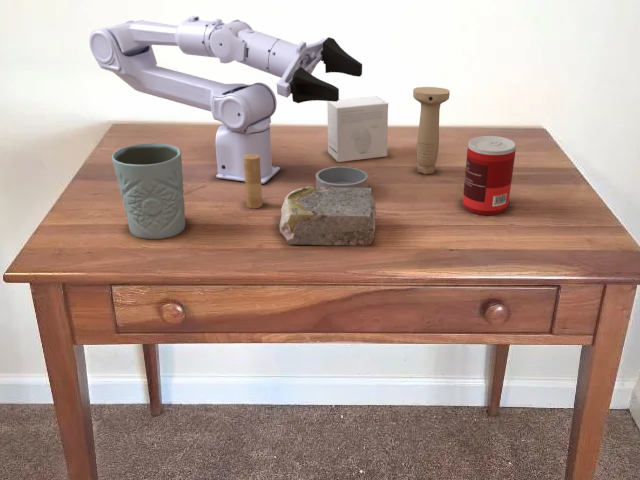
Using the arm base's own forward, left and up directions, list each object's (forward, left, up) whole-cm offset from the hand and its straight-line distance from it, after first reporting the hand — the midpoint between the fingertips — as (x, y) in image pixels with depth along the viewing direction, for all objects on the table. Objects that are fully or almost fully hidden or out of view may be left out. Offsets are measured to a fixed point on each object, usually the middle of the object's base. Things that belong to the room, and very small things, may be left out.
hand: (349, 82), depth 119 cm
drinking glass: (-25, -22, -19) cm, 39 cm away
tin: (-2, +1, -19) cm, 19 cm away
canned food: (+23, +2, -19) cm, 30 cm away
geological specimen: (+1, -15, -19) cm, 25 cm away
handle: (+10, +15, -19) cm, 27 cm away
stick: (-14, -10, -19) cm, 25 cm away
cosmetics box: (-5, +21, -19) cm, 29 cm away
